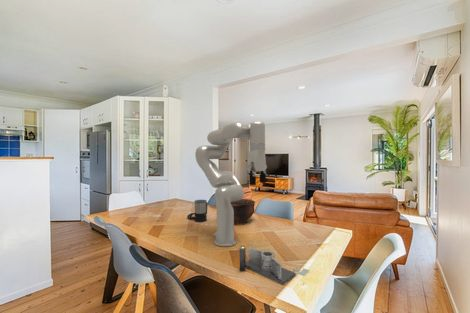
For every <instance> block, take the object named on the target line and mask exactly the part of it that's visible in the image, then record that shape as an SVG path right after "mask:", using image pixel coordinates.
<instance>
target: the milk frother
mask: <svg viewBox="0 0 470 313" xmlns="http://www.w3.org/2000/svg"><path fill="white" fill-rule="evenodd" d="M193 202H194V212H191V213H189V214H187V217H186V218H187V219H189V220H194V222H196V223H205V222H206V221H207V215H208V202H207V200H206V199H196V200H194V201H193Z"/></svg>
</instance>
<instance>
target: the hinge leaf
mask: <svg viewBox="0 0 470 313" xmlns="http://www.w3.org/2000/svg"><path fill="white" fill-rule="evenodd" d="M261 264H262V265H264V266H271V272H272V273H273V274H274V275H275V276H276V277H277V278H278V279H280V280H281V267H282V263H281V262H279V261H278V260H276V259H274V258H273V257H271V261H264V260H262V259H261Z"/></svg>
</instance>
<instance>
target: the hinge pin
mask: <svg viewBox="0 0 470 313" xmlns="http://www.w3.org/2000/svg"><path fill="white" fill-rule="evenodd" d="M238 249H239V250H238V251H239V271H240V272H243V273H244V272H246V269H247V268H246V261H247V260H246V256H247V255H246V252H247V250H246V245H239V248H238Z"/></svg>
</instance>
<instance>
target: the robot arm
mask: <svg viewBox="0 0 470 313" xmlns="http://www.w3.org/2000/svg"><path fill="white" fill-rule="evenodd" d="M234 139H246V140H247V139H248V140H249V143H248V144H249V145H248V146H249V151H248V157H247V167H246V170H247V174H248V178H249V179H248V181H249V182H248V183H249V186H255V185H256V186H257V182H256V181H257V180H256V178H257V176H256V173H258V172H259V183H263V184H265V183H267V177H266V176H267V168H268V164H267V160H266V124H265V123H264V122H263V121H252V122H250V123H245V122H231V123H229V124H225V125H224V126H223V128H219V129H215V130H211V131H210V132H209V133H208V134H207V142H208V143H209V144H210V145H208V144H207V145H200V146H198V147H197V148H196V150H195V155H194V156H195V160H196V163H197V165H198V167H199V168H200V169H201V170H202V172H203V173H204V175H205V177H206V178H207V181H208V182H209V184H210V186H211V187H213V188H214V189H215V192H214V199H215V204H216V205H215V206H216V231H215V232H214V233H213V236H214V237H215V239H214V240H213V243H214V245H216V246H217V247H223V248H224V247H231V246H234V245H236V244H237V243H238V240H237V238H236V237H235V227H234V226H235V223H234V210H233V207H232V205H231V203H230V202H235V201H239V200H241V199H244V197H245V190H244V188H243V186H242V184H241V183H240V182H239V180H238V178H237V176H236V175H235V174H234V173H233V172H232V171H229V170H224V171H223V170H220V169H219V167H218V165H216V163H215V162H213V161H212V160H218V159H222V158H223V156H224V155H225V153H226V152H227V150H228V148H229V146H230V144H231V142H232V141H234Z"/></svg>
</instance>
